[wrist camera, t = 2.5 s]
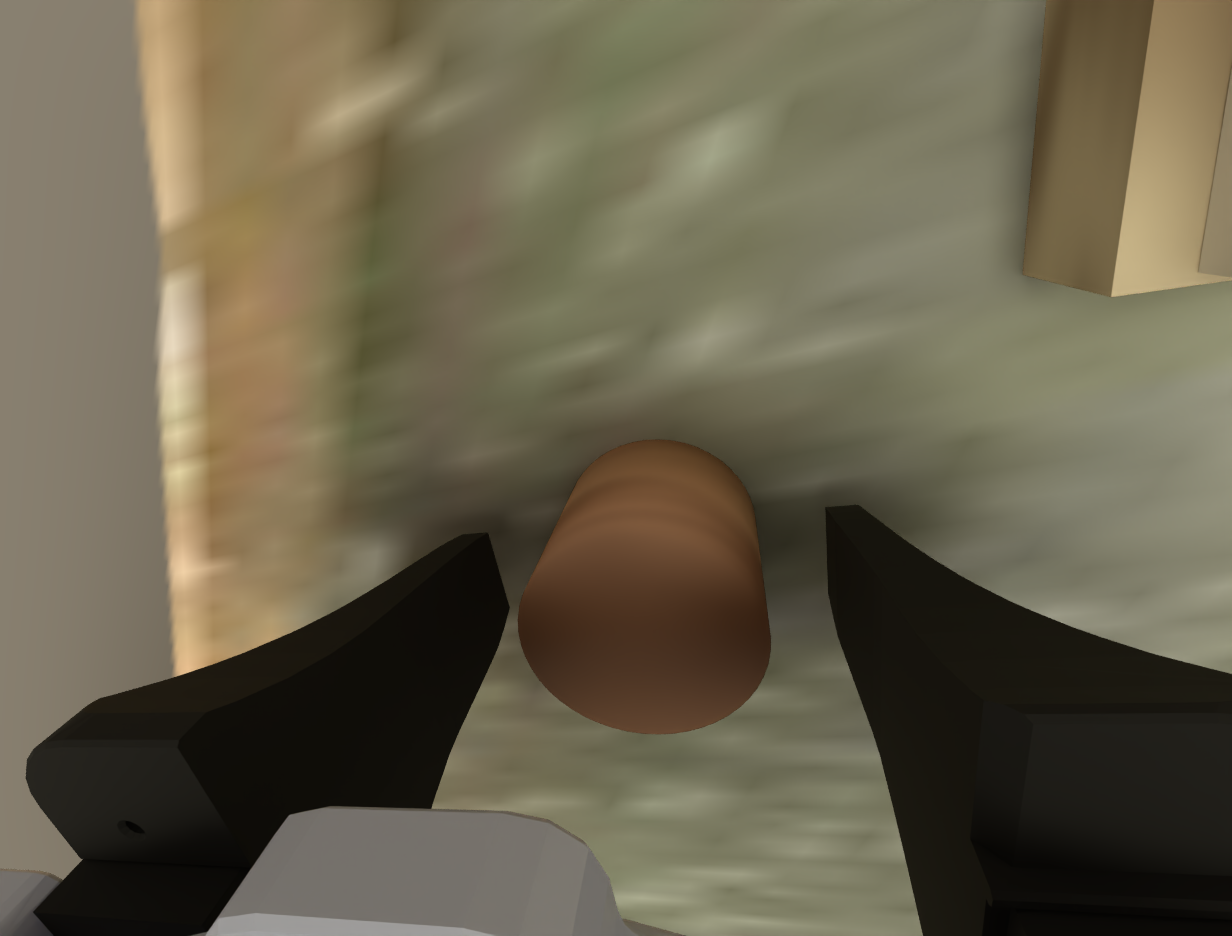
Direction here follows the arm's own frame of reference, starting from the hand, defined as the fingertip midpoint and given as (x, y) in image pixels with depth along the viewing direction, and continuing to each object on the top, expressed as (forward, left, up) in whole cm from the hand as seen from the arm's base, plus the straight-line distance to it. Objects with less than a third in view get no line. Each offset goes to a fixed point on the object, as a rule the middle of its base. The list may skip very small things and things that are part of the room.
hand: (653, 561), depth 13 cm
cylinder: (0, 0, -2) cm, 2 cm away
